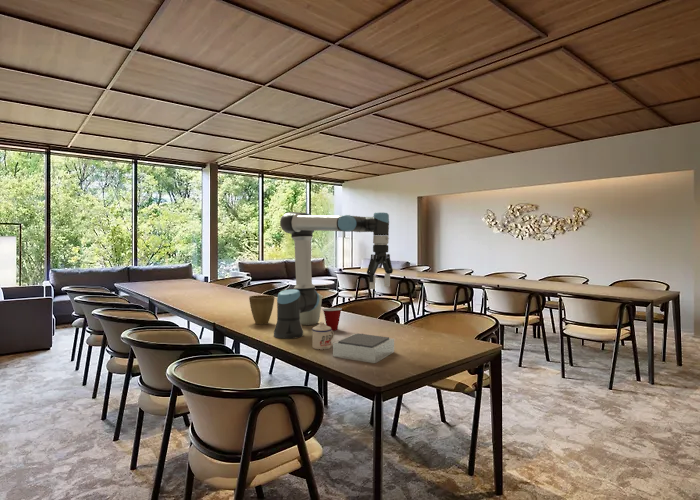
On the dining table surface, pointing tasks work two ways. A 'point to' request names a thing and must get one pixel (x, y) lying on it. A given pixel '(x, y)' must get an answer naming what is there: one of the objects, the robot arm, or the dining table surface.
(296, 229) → the robot arm
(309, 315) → the canister
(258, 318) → the plant pot
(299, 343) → the dining table surface
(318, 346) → the teacup with lid
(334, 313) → the plastic cup
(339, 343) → the white flat block
